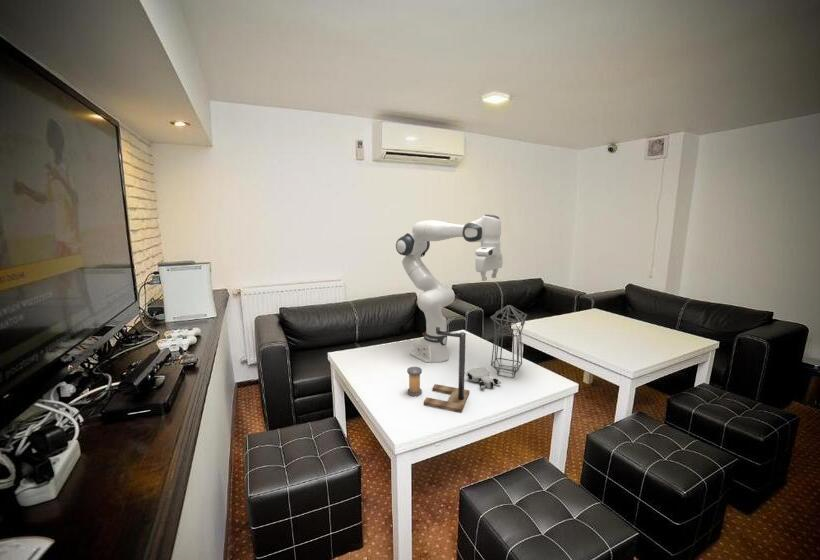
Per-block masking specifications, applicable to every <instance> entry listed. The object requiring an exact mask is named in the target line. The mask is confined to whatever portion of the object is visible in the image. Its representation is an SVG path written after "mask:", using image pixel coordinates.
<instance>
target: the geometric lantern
mask: <svg viewBox="0 0 820 560" xmlns="http://www.w3.org/2000/svg"><path fill="white" fill-rule="evenodd" d="M512 313H513V314H512ZM500 314H501V315H502V317H501V318H497V317H498V316H499V315H500ZM511 316H513V317H514V319H513V318H511ZM527 316H528V314H527V313H525V312H523V311H521V310H519V309H517V308H516V307H514V306H513V305H511V304H509V305H508V304H507V305H505V306H504V307H501V308H500V309H498V310H496V311H495V313H494V314H492V315H491V316H490V317H489V318H490V319H491V320H492V322H493V324H494V325H493V327H494V335H493V343H492V353H491V361H490V366H491V367H493V369H495V371H496V374H497V376H499V377H504V378H509V377H510V379H513V378H516V377H515V376H516V374H517V372H518V371H519V370H520V369H521V366H522V365H523V351H522V350H523V349H522V347H523V345H522V343H523V342H522V332H523V328H524V325H525V324H526V323H525V322H526V319H527ZM504 317H505V318H506V319H504ZM499 321H500V322H501V323H500V322H499ZM504 321H505V323H504V324H503V322H504ZM508 323H510V324H508ZM518 323H520V325H519V327H518V325H517V324H518ZM496 324H497V326H498V328H496ZM512 325H515V326H516V328H512V327H510V326H512ZM520 328H521V329H520ZM504 329H507V330H509V331H510V333H511V334H512V335H511V334H507V333H506V334H505V333H504ZM513 330H514V331H516V333H514V332H513ZM500 332H501V333H500ZM517 334H518V335H517ZM500 335H501V340H500ZM504 336H507V337H512V359H509V358H508V359H507V358H502V354H503V353H502V352H503V342H504V341H503V339H504ZM515 337H516V360H515ZM499 341H501V344H500V343H499ZM499 344H500V353H498V350H499ZM498 354H500V357H499V358H498ZM519 358H520V359H519ZM498 360H500V361H498ZM502 360H505V361H510V362H512V366H511V365H504V364H501V363H502ZM519 360H520V361H519ZM496 362H497V363H498V366H496ZM503 367H506V368H503ZM507 367H509V368H512V369H509V368H507ZM503 370H504V371H503ZM499 373H504V374H505V373H506V374H511V376H508V375H502V374H499Z"/></svg>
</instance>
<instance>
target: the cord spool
mask: <svg viewBox="0 0 820 560" xmlns="http://www.w3.org/2000/svg"><path fill="white" fill-rule="evenodd" d="M406 372H407V375H408V378H409V379H408V387H409V388H408V389H407V391H406V392H407V395H408V396H410V397H414V396H416V397H419V395H420V396H421V395H422V393H423V391H422V388H421V374H422V372H423V370H422V368H421V367H419V366H410V367H408V368H407V371H406Z"/></svg>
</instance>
